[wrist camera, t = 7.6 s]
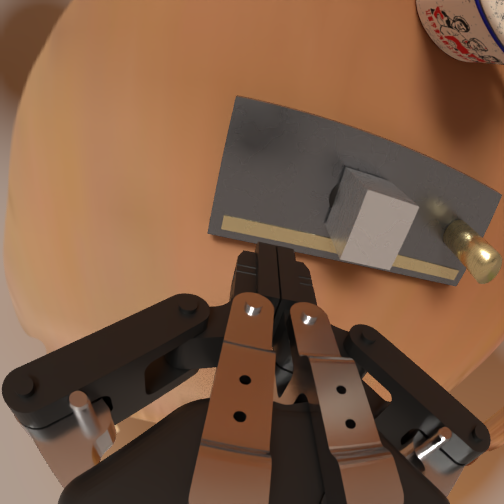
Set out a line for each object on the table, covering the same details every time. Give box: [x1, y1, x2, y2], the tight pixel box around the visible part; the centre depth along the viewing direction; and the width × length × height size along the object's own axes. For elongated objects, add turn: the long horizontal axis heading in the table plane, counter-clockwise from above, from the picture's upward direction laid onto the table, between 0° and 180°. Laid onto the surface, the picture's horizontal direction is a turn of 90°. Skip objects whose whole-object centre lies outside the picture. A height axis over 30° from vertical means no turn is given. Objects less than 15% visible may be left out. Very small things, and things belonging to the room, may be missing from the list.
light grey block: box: [325, 167, 419, 270], centre depth 21 cm, size 4×5×5 cm
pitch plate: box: [208, 95, 502, 286], centre depth 22 cm, size 26×11×8 cm, turn 77°
